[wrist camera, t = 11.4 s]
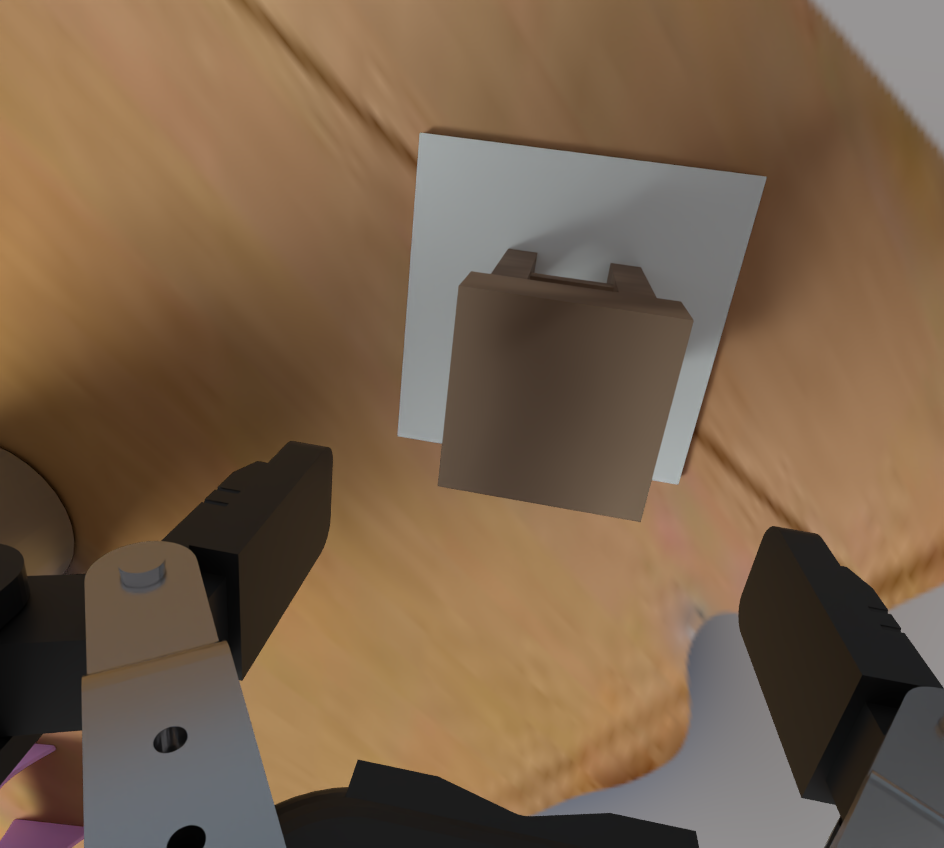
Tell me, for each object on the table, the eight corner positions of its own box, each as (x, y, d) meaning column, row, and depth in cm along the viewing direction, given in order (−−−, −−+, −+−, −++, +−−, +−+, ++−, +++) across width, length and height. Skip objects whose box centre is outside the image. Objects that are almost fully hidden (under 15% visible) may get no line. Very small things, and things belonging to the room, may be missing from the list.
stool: (652, 258, 23) (693, 320, 15) (620, 401, 25) (640, 522, 17) (500, 237, 23) (458, 286, 15) (482, 378, 26) (437, 485, 18)
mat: (676, 477, 27) (678, 484, 26) (401, 430, 28) (397, 436, 27) (762, 176, 22) (766, 176, 21) (423, 133, 23) (419, 132, 22)
